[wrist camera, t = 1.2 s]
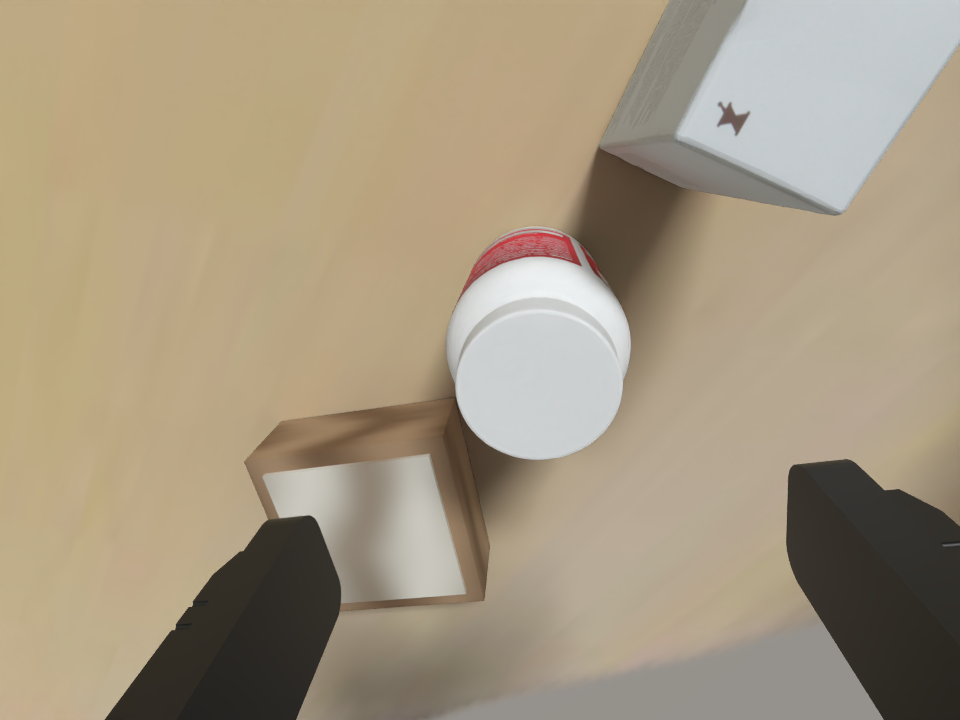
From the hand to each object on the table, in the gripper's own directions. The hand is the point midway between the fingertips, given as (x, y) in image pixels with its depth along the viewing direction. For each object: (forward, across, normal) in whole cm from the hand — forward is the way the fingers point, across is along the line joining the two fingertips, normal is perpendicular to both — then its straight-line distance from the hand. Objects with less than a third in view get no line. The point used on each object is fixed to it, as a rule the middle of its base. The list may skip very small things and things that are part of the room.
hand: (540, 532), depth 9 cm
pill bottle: (+17, 0, 0) cm, 17 cm away
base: (+17, +10, +10) cm, 22 cm away
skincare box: (+17, -7, -7) cm, 20 cm away
